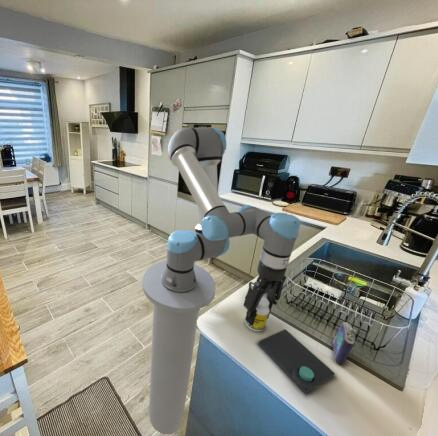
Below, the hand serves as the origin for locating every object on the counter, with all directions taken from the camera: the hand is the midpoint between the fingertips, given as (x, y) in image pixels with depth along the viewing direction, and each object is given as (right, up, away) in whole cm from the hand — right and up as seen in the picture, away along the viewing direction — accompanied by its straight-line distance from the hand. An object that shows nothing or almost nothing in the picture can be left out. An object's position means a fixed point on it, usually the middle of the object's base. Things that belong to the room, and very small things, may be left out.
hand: (256, 319), depth 82 cm
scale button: (+6, -8, -17) cm, 20 cm away
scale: (+7, -8, -10) cm, 14 cm away
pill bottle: (0, -3, +1) cm, 3 cm away
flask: (+22, -7, -8) cm, 24 cm away
